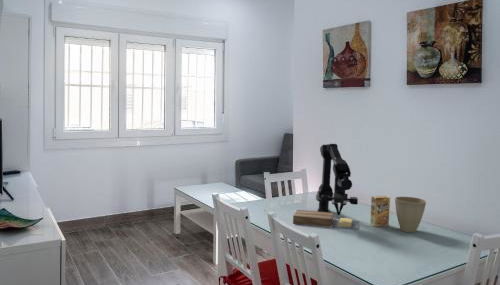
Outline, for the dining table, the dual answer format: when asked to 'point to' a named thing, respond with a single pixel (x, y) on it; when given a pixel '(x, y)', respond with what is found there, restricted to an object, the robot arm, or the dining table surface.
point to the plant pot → (409, 212)
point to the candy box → (380, 211)
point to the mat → (353, 226)
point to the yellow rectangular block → (345, 222)
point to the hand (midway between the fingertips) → (338, 215)
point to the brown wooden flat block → (313, 218)
